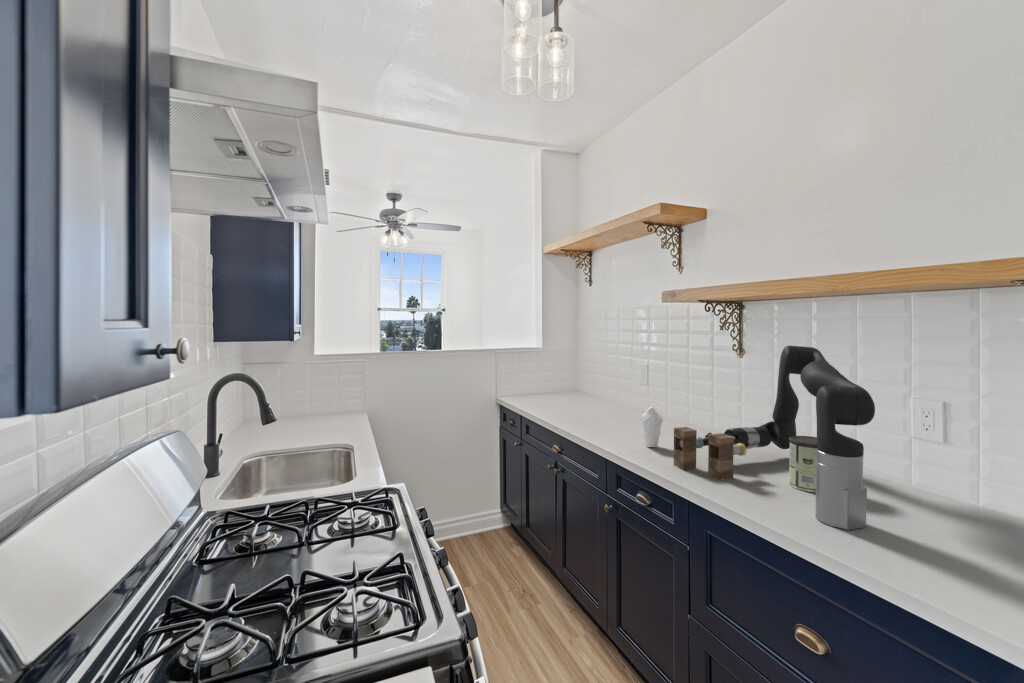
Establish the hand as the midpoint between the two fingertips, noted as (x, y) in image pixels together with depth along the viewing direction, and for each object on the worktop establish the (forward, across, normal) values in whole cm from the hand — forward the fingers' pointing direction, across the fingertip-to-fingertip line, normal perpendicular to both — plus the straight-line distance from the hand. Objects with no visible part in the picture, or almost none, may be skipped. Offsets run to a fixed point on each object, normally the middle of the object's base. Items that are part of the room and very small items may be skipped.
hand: (699, 442), depth 154 cm
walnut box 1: (+6, 0, +8) cm, 10 cm away
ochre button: (-4, +11, +2) cm, 12 cm away
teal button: (+3, 0, +2) cm, 4 cm away
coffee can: (-18, +26, +8) cm, 32 cm away
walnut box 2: (+1, +11, +8) cm, 14 cm away
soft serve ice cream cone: (+2, -25, +8) cm, 26 cm away
